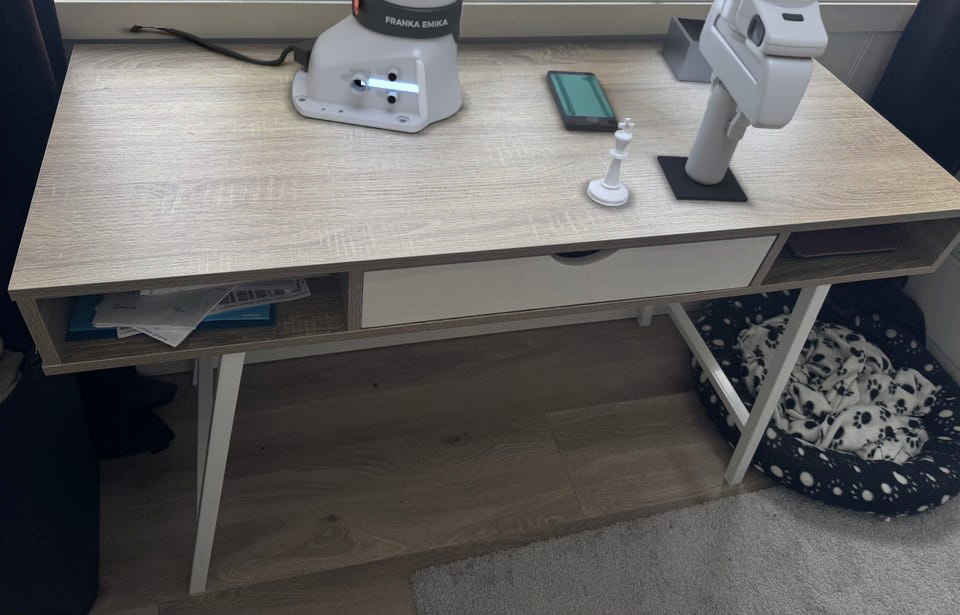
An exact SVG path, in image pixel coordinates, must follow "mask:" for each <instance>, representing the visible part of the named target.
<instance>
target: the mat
mask: <svg viewBox="0 0 960 615" xmlns="http://www.w3.org/2000/svg"><path fill="white" fill-rule="evenodd" d="M688 158H689V156H679V155H678V156H676V155H657V157H656V159H657V162H658V164H659V166H660V167H661V170H662V172H663V174H664V177H665V179H666V180H667V183H668V185H669V186H670V188H671V190H672V193H673V195H674V197H675V199H676V200H679V201H680V200H681V201H682V200H683V201H706V202H707V201H708V202H731V203H748V200H749V198H748V196H747V195H746V193H745V191H744V190H743V188H742V186H741V185H740V183H739V181H738V180H737V178H736V176H735V175H734V172H733V171H732V170H731V168H730V166H729V165H728V168H727V170H726V173H725V175H724V177H723V179H722V180H721V181H720V182H718V183H716V184H714V185H704V184H700V183H698V182H696V181H694V180H692V179H691V178H690V177H689V176H688V175H687V173H686V170H685V166H686V163H687V160H688Z"/></svg>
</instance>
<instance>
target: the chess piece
mask: <svg viewBox="0 0 960 615" xmlns="http://www.w3.org/2000/svg"><path fill="white" fill-rule="evenodd" d="M618 123H619V124H618V129H617V131H616V132H614V147H612V148H610V150H609V151H608V154H609V156H611V157H612V159H611V161H610V164H609V167H608V169H607V172H606V174H605V176H604V177H598V178H595V179H593V180H591V181H590V182H589V184H588V186H587V189H586V193H587V196H588V197H589V198H590V199H591V200H592V201H593V202H595V203H597V204H600V205H602V206H606V207H620V206H622V205H625V204H626V203H627V202H628V199H629V194H630V192H629V190H628V188H627V186H626V185H624V183H622V182H620V181H619V177H620V170H621V165H622V160H625V159H627V158H628V156H629V154H628V151H627V150H626V148H627V147H628V145H629V144H630V143H631V141H632V140H633V134H632V133H631V132H629V131H628V130H634V128H635V123H631V118H630V117H625V119H624V122H618Z"/></svg>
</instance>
